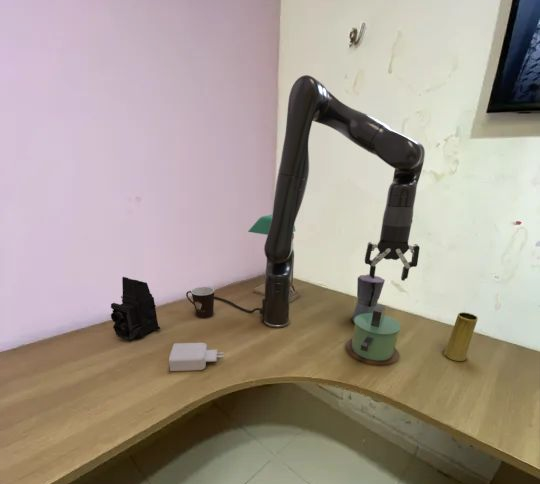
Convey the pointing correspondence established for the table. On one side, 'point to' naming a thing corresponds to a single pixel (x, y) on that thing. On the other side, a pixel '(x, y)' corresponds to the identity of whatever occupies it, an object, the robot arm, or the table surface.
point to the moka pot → (367, 294)
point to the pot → (375, 334)
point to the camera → (134, 311)
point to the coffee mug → (203, 301)
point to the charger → (191, 356)
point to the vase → (461, 336)
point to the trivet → (368, 361)
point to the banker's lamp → (263, 228)
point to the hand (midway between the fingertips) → (387, 278)
